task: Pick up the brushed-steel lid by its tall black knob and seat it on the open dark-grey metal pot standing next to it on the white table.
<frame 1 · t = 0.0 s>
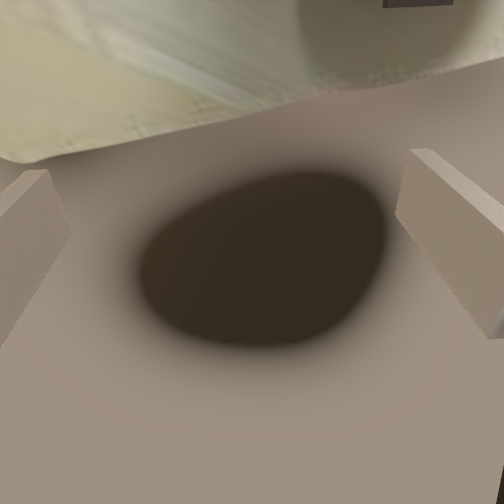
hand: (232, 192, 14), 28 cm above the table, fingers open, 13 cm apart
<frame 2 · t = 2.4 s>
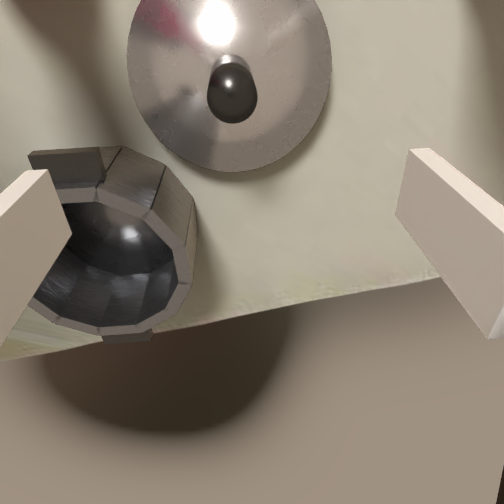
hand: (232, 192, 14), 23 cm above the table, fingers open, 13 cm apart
lid: (230, 71, 33), on the table
pot: (121, 220, 40), on the table
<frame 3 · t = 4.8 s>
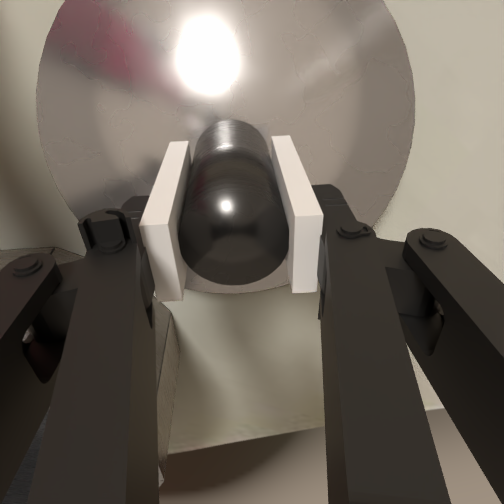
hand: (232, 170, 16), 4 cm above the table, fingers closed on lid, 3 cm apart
lid: (231, 139, 19), on the table, touching gripper
pot: (63, 340, 27), on the table
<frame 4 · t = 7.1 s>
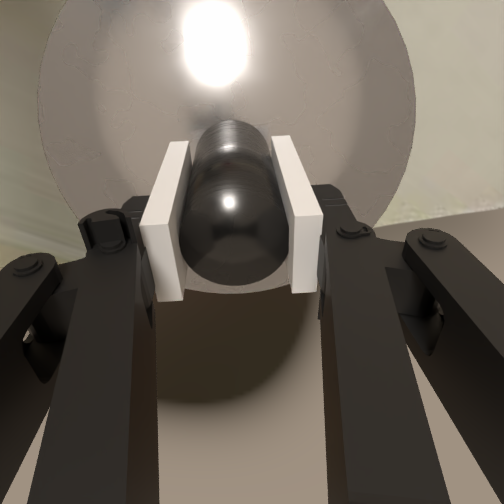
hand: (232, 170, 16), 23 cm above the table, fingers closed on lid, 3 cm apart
lid: (232, 139, 19), point 19 cm above the table, touching gripper
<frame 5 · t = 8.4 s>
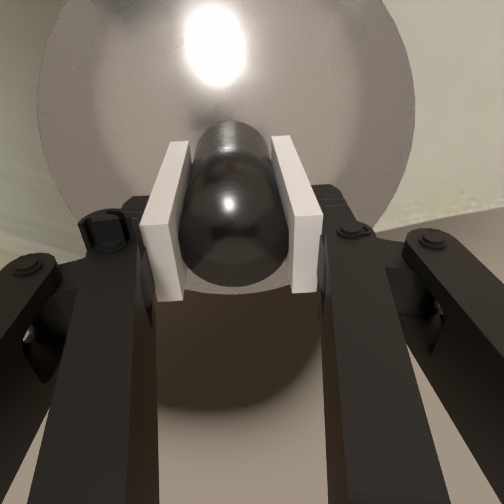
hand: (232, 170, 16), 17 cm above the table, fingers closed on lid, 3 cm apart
lid: (231, 140, 19), point 13 cm above the table, touching gripper
when the fingers open (13 cm above the table, at t = 9.4 s): lid drops 1 cm, resting on pot.
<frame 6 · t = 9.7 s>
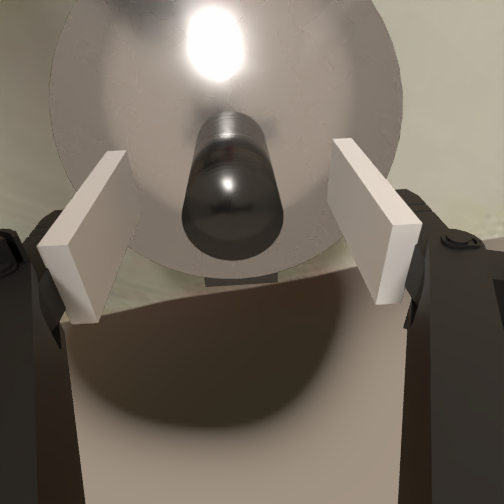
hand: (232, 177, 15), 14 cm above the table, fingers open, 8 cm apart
lid: (230, 131, 20), point 7 cm above the table, touching pot
pot: (230, 97, 26), on the table
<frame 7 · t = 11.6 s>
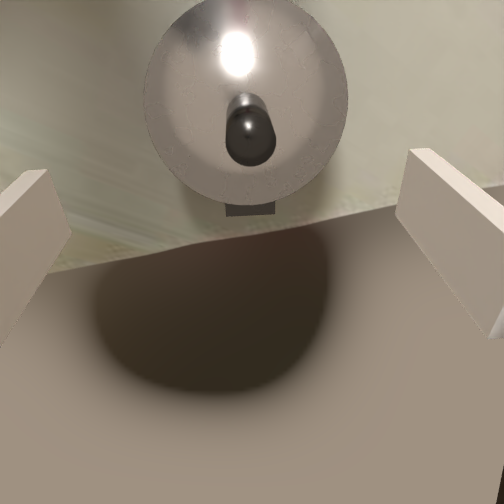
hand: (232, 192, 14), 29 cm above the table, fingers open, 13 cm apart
lid: (246, 107, 33), point 7 cm above the table, touching pot
pot: (243, 89, 39), on the table
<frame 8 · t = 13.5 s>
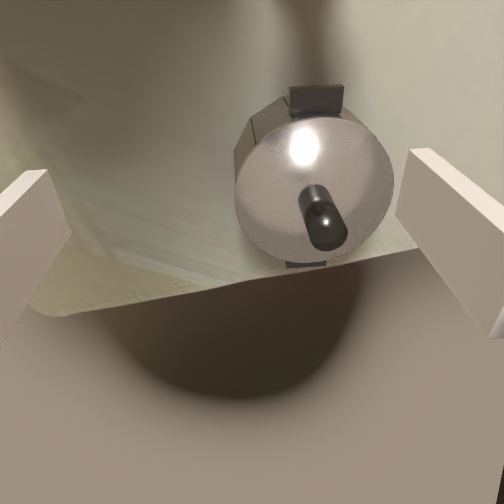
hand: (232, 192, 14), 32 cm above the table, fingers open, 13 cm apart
lid: (309, 189, 41), point 7 cm above the table, touching pot
pot: (299, 162, 47), on the table
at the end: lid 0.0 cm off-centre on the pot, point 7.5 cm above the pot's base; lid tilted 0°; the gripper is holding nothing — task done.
